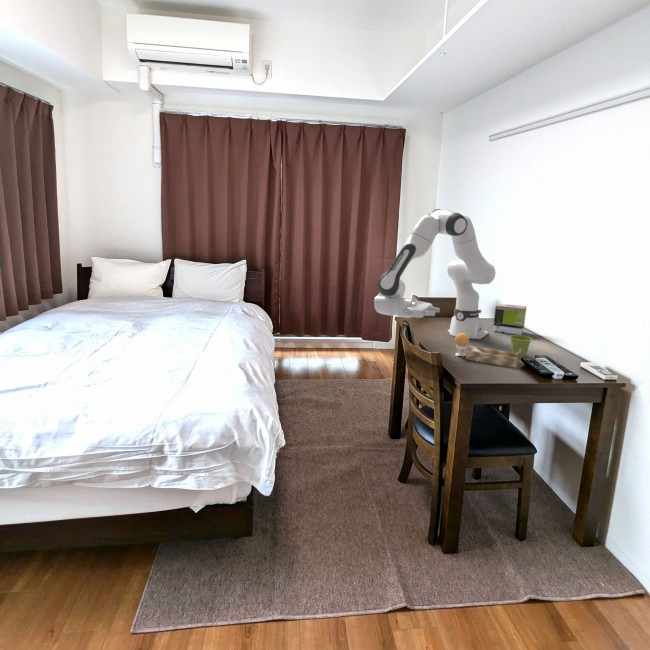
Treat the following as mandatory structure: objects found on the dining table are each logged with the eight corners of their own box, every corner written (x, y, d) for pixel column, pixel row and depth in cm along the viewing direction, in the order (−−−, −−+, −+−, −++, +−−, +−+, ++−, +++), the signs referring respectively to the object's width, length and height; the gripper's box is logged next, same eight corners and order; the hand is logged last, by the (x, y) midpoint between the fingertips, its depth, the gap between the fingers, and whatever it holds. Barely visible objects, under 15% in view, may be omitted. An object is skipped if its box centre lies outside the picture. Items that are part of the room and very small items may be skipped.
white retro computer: (523, 331, 265) (527, 305, 262) (521, 335, 256) (525, 308, 253) (495, 327, 272) (498, 302, 268) (492, 331, 263) (495, 305, 260)
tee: (454, 356, 216) (455, 345, 215) (456, 353, 220) (457, 343, 219) (464, 357, 214) (465, 346, 213) (466, 355, 218) (467, 344, 217)
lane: (465, 359, 212) (467, 345, 210) (469, 354, 219) (470, 340, 218) (518, 368, 203) (520, 353, 201) (520, 362, 210) (522, 348, 209)
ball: (458, 343, 220) (460, 330, 219) (470, 346, 216) (472, 333, 214) (451, 345, 216) (453, 332, 214) (463, 348, 212) (465, 335, 210)
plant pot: (516, 359, 215) (519, 340, 213) (503, 353, 223) (505, 335, 221) (533, 358, 217) (536, 340, 215) (520, 352, 226) (522, 334, 224)
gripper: (401, 305, 213) (432, 309, 208) (414, 298, 231) (442, 302, 226) (400, 318, 215) (431, 323, 209) (412, 311, 233) (441, 315, 227)
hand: (437, 312), depth 217 cm, fingers open, 8 cm apart
